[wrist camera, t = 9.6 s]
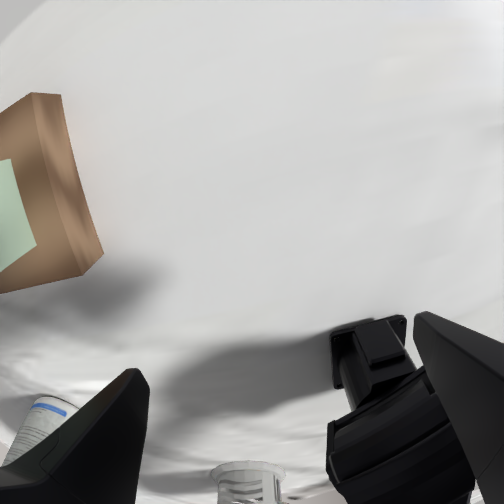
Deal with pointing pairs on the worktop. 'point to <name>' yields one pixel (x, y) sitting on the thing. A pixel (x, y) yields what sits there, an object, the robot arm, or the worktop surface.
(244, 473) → the french press
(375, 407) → the robot arm
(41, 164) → the walnut block
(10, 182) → the sage cube
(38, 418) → the supplement tub
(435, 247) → the worktop surface
